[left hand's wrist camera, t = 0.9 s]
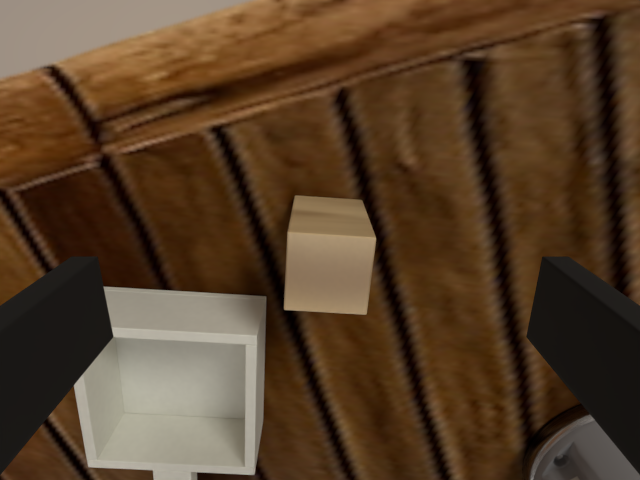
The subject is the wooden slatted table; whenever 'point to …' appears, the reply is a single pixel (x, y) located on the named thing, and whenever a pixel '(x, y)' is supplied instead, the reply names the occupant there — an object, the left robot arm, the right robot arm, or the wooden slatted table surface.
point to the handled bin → (176, 384)
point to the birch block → (328, 256)
